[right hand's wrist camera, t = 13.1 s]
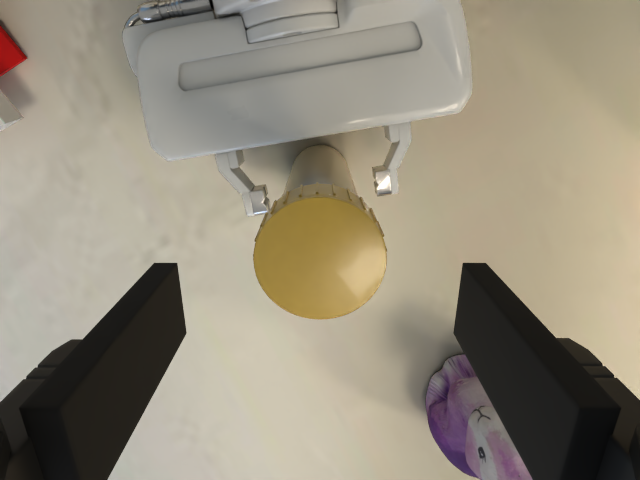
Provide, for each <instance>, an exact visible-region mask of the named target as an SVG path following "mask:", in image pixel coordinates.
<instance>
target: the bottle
mask: <svg viewBox="0 0 640 480" xmlns="http://www.w3.org/2000/svg"><path fill="white" fill-rule="evenodd" d="M316 182H319V184H331V185H332V183H333V184H335V186H339V187H342V188H344V189H347V188H348V189H350V192H352V193H354V194H355V195H357V192H356V189H355V186H354V183H353V180H352V177H351V174H350V172H349V169H348V166H347V163H346V161H345V159H344V157H343V156H342V155H341V154H340V153H339V152H338V151H337V150H336V149H334V148H332V147H329V146H326V145H314V146H311V147H308V148H306V149H305V150H303V151H302V152H301V153H300V154H299V155H298V156H297V157H296V159H295V161H294V163H293V166H292V169H291V172H290V175H289V178H288V181H287V184H286V187H285V190H284V192H283V195H285V194H286V192H287V191H289V192H290V191H291V190H294V189H296V188H298V187H300V185H303V186H305V185H310V184H316ZM283 195H282V196H283ZM357 196H358V195H357Z"/></svg>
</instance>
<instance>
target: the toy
mask: <svg viewBox="0 0 640 480" xmlns="http://www.w3.org/2000/svg"><path fill="white" fill-rule="evenodd" d="M26 59H27V57H26V56H25V55H24V53H23V52H22V51H21V50H20V49H19V47H18V46H17V45H16V44H15V43H14V41H13V40H12V39H11V38H10V37H9V35H8V34H7V33H6V32H5V31H4V29H3V28H2V27H1V26H0V76H2V75H3V74H5V73H6V72H8V71H9V70H11V69H12V68H14V67H15V66H17V65H18V64H20V63H21V62H23V61H24V60H26ZM22 118H24V117H23V116H22V115H21V114H20V112H19V111H18V110H17V109H16V108H15V106H14V105H13V104H12V103H11V102H10V100H9V99H8V98H7V97H6V96H5V95H4V93H3V92H2V91H1V90H0V132H1V131H2V130H4V129H6V128H7V127H9V126H11V125H12V124H14V123H16V122H17V121H19V120H20V119H22Z"/></svg>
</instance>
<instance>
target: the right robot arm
mask: <svg viewBox="0 0 640 480" xmlns="http://www.w3.org/2000/svg"><path fill="white" fill-rule="evenodd" d="M185 335H186V326H185V319H184V311H183V304H182V296H181V289H180V281H179V274H178V266H177V263H154V264H153V265H152V266H151V267H150V268H149V269H148V270H147V271H146V272H145V273H144V275H143V276H142V277H141V278H140V279H139V280H138V281H137V282H136V283H135V284H134V285H133V286H132V287H131V288H130V289H129V291H128V292H127V293H126V294H125V295H124V296H123V297H122V298H121V299H120V300H119V301H118V302H117V303H116V304H115V306H114V307H113V308H112V309H111V310H110V311H109V312H108V313H107V314H106V315H105V316H104V317H103V318H102V319H101V320H100V322H99V323H98V324H97V325H96V326H95V327H94V328H93V329H92V330H91V331H90V332H89V333H88V334H87V335H86V336H85V338H84V339H83V340H70V341H68V342H67V343H65V344H63V345H62V346H60V347H58V348H57V349H55V350H53V351H52V352H51V353H50V354H49V355H48V356H47V357H46V358H45V359H44V360H43V361H42V362H41V363H40V364H39V365H38V368H35V369H34V370H32V371H31V372H30V373H29V374H28V375H27V376H26V377H27V378H26V379H23V380H22V381H21V382H20V383H19V384H18V385H17V386H16V387H15V388H14V389H13V390H12V391H11V392H10V393H9V394H8V395H7V396H6V397H5V398H4V399H3V400H2V401H1V402H0V480H107V479H108V477H109V475H110V474H111V472H112V470H113V468H114V466H115V464H116V462H117V461H118V459H119V457H120V455H121V453H122V451H123V450H124V448H125V446H126V444H127V442H128V440H129V438H130V437H131V435H132V433H133V431H134V429H135V427H136V426H137V424H138V422H139V420H140V418H141V416H142V414H143V413H144V411H145V409H146V407H147V405H148V403H149V401H150V400H151V398H152V396H153V394H154V392H155V390H156V389H157V387H158V385H159V383H160V381H161V379H162V377H163V376H164V374H165V372H166V370H167V368H168V366H169V364H170V363H171V361H172V359H173V357H174V355H175V353H176V352H177V350H178V348H179V346H180V344H181V342H182V340H183V339H184V337H185ZM454 335H455V337H456V339H457V340H458V342H459V344H460V346H461V348H462V350H463V352H464V353H465V355H466V357H467V359H468V361H469V363H470V364H471V366H472V368H473V370H474V372H475V374H476V376H477V377H478V379H479V381H480V383H481V385H482V387H483V389H484V390H485V392H486V394H487V396H488V398H489V400H490V401H491V403H492V405H493V407H494V409H495V411H496V413H497V414H498V416H499V418H500V420H501V422H502V424H503V425H504V427H505V429H506V431H507V433H508V435H509V437H510V438H511V440H512V442H513V444H514V446H515V448H516V450H517V451H518V453H519V455H520V457H521V459H522V461H523V462H524V464H525V466H526V468H527V470H528V472H529V474H530V475H531V477H532V479H533V480H640V400H639V399H638V398H637V397H636V396H635V395H634V394H633V393H632V392H631V391H630V390H629V389H628V388H627V387H626V386H625V385H624V384H623V383H622V382H621V381H620V380H619V379H618V378H614V375H613V374H612V373H611V372H610V371H609V370H608V369H607V368H606V367H605V366H603V365H602V363H601V362H600V361H599V360H598V359H597V358H596V357H595V356H594V355H593V354H592V353H591V352H590V351H589V350H588V349H586V348H584V347H583V346H581V345H579V344H578V343H576V342H574V341H573V340H571V339H569V338H555V336H554V335H553V334H552V333H551V332H550V331H549V330H548V329H547V328H546V327H545V326H544V325H543V324H542V323H541V322H540V320H539V319H538V318H537V317H536V316H535V315H534V314H533V313H532V312H531V311H530V310H529V309H528V308H527V307H526V306H525V304H524V303H523V302H522V301H521V300H520V299H519V298H518V297H517V296H516V295H515V294H514V293H513V292H512V291H511V289H510V288H509V287H508V286H507V285H506V284H505V283H504V282H503V281H502V280H501V279H500V278H499V277H498V276H497V275H496V273H495V272H494V271H493V270H492V269H491V268H490V267H489V266H488V265H487V264H486V263H463V266H462V274H461V281H460V289H459V296H458V304H457V311H456V319H455V326H454Z"/></svg>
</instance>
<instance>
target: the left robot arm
mask: <svg viewBox="0 0 640 480" xmlns="http://www.w3.org/2000/svg"><path fill="white" fill-rule="evenodd" d="M137 10H138V12H136V13H134V14H133V15H132V16H131V17H130V18H129V19H128V20H127V22H126V24H125V26H124V29H123V32H122V39H123V44H124V47H125V51H126V54H127V58H128V61H129V64H130V67H131V69H132V71H133V72H134V74H135V75H136V77H137V78H138V85H139V93H140V100H141V105H142V111H143V116H144V121H145V126H146V130H147V134H148V138H149V142H150V145H151V147H152V149H153V150H154V151H155V152H157V153H158V154H159V155H160V156H161V157H163V158H164V159H165V160H167V161H176V160H182V159H188V158H194V157H201V156H207V155H213V154H215V158H216V162H217V166H218V170H219V172H220V173H221V174H222V175H223V176H224V177H225V178H226V179H227V181H228V182H229V183H230V184H231V185H232V186H233V187H234V188H235V189H236V190H237V191H238V192H239V193H242V198H243V202H244V206H245V210H246V214H247V216H248V217H249V216H256V215H262V214H266V212H267V213H268V212H269V210H270V201H269V199H268V198H267V197H266V196H267V194H268V192H267V187H266V184H265V185H258V186H255V185H254V184H253V183H252V182H251V180H250V179H249V178H248V177H247V176H246V175H245V173H244V172H243V171H242V170H241V169H240V167H239V166H240V165H241V164H242V163H243V162H244V156H243V152H242V150H243V149H249V148H255V147H261V146H267V145H273V144H279V143H285V142H291V141H297V140H303V139H309V138H315V137H321V136H327V135H333V134H339V133H345V132H351V131H357V130H363V129H369V128H375V127H381V126H384V129H385V137H386V138H387V139H388V140H389V141H391V142H392V145H391V147H390V150H389V152H388V154H387V157H386V159H385V162H384V164H383V165H382V166H376V167H372V171H373V177H374V179H375V181H374V188H375V193H376V194H377V196H384V195H391V194H397V193H399V184H398V174H397V168H399V167H400V164H401V162H402V160H403V158H404V156H405V154H406V152H407V149H408V147H409V145H410V143H411V141H412V135H411V121H417V120H423V119H429V118H435V117H441V116H447V115H452V114H458V113H460V112H461V111H462V110H463V108H464V107H465V105H466V104H467V102H468V100H469V99H470V97H471V94H472V65H471V55H470V46H469V39H468V32H467V26H466V20H465V15H464V11H463V7H462V4H461V1H460V0H165V1H159V0H154V1H149V2H145V3H143V4H141V5H139V6H138V8H137ZM176 17H178V18H176ZM171 18H173V19H171ZM140 19H141V21H142V22H143V23H146V24H141V25H135V26H134V24H135V23H136V22H137V21H139V20H140ZM166 19H167V20H166Z"/></svg>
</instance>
